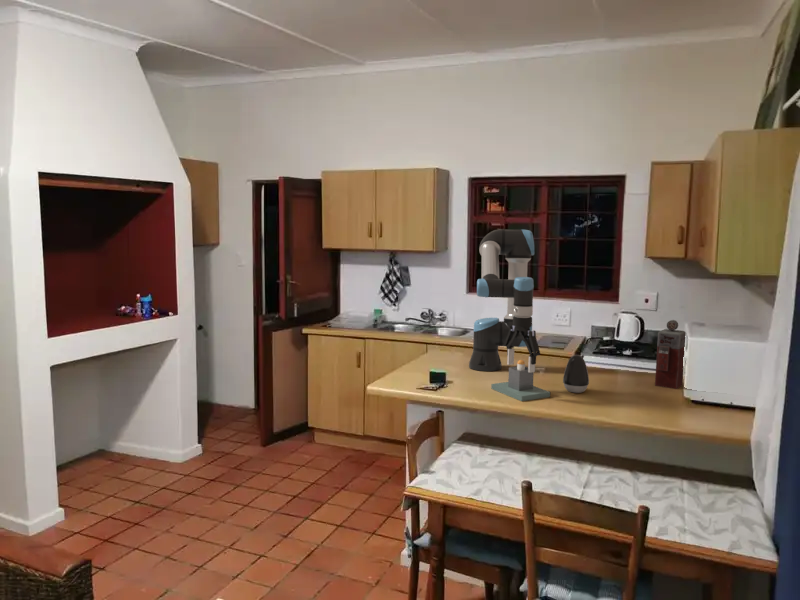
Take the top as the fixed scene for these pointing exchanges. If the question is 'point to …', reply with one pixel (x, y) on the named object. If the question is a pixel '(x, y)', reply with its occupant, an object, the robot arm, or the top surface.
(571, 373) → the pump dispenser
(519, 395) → the keeper
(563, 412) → the top surface
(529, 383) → the grey square sleeve
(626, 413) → the top surface
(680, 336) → the toy vending machine
